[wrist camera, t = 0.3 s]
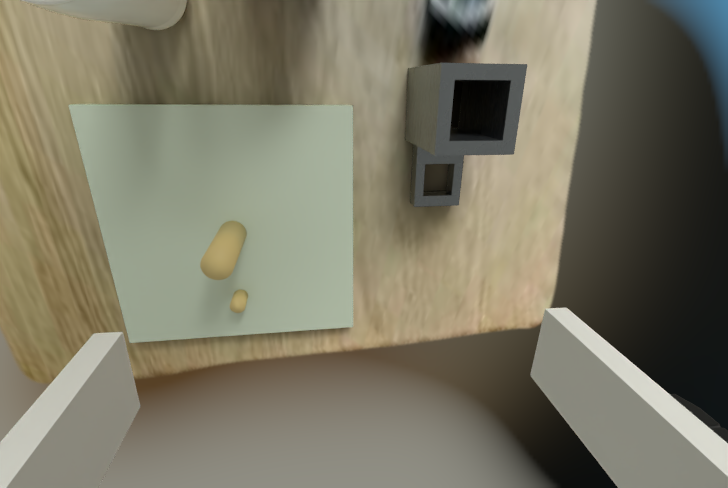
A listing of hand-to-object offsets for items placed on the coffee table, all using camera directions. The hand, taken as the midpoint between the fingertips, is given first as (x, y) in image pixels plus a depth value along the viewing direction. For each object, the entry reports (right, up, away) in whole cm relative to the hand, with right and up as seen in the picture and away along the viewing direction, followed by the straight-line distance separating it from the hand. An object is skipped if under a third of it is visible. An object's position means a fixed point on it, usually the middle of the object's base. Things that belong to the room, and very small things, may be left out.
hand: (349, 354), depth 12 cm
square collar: (+7, +13, +24) cm, 28 cm away
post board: (-12, +5, +25) cm, 28 cm away
